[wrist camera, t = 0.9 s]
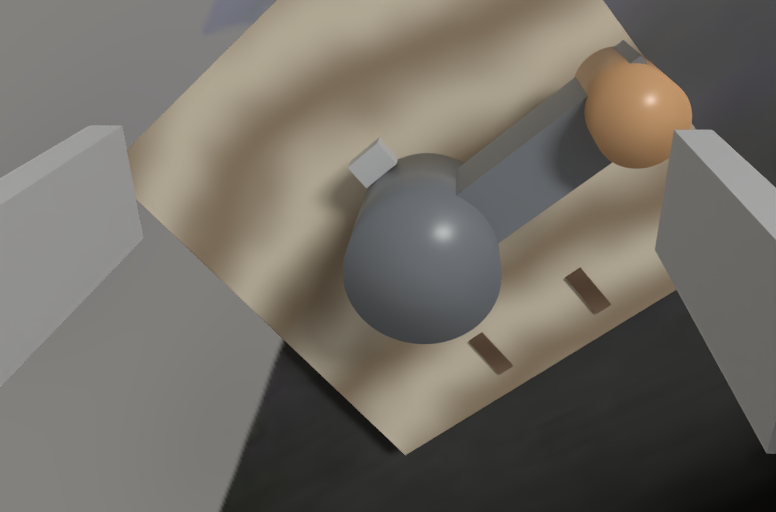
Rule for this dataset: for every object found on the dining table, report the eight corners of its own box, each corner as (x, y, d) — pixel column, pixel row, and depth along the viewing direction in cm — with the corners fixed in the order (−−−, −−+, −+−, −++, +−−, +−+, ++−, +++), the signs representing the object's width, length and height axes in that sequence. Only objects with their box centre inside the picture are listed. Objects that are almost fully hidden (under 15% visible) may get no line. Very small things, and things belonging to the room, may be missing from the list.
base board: (756, 217, 40) (784, 248, 37) (407, 435, 49) (403, 476, 46) (466, -185, 33) (466, -195, 29) (121, 159, 42) (89, 183, 39)
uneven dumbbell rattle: (698, 134, 34) (752, 189, 28) (436, 315, 40) (431, 395, 34) (578, -31, 31) (608, -14, 25) (315, 189, 37) (285, 249, 31)
